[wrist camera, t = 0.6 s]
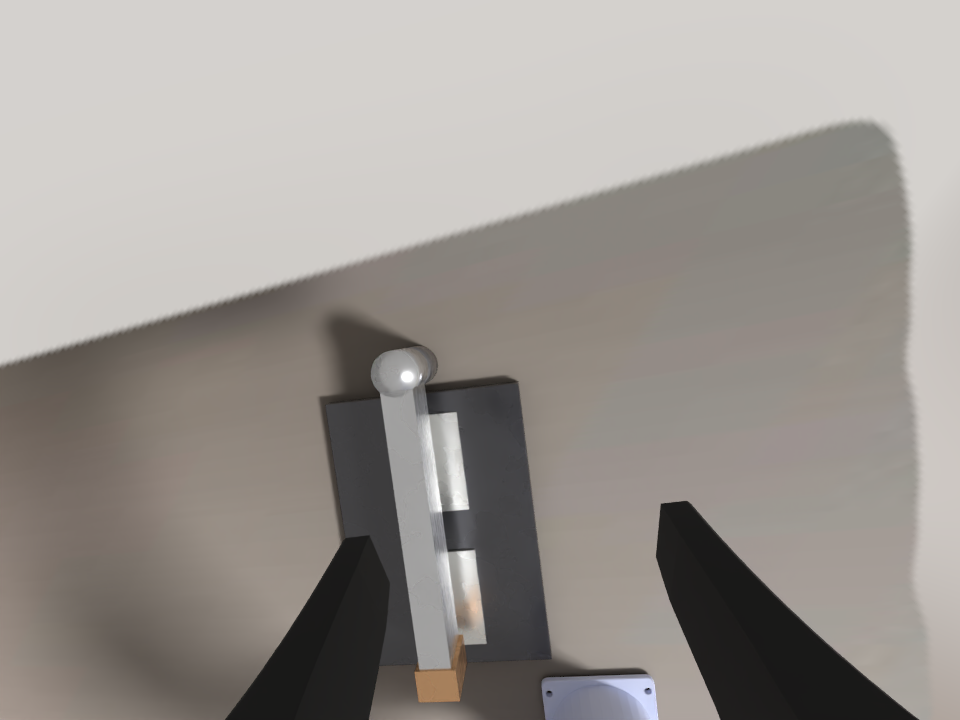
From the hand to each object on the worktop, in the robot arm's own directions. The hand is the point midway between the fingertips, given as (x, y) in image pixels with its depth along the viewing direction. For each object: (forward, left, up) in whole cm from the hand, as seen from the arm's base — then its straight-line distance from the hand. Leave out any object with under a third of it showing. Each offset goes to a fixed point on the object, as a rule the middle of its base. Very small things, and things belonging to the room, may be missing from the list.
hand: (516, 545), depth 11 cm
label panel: (-7, +7, -21) cm, 23 cm away
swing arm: (-6, +7, -18) cm, 20 cm away
